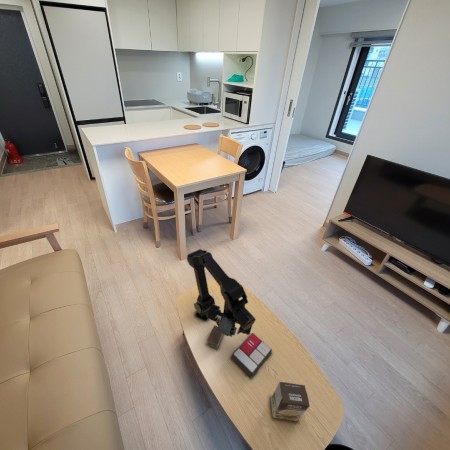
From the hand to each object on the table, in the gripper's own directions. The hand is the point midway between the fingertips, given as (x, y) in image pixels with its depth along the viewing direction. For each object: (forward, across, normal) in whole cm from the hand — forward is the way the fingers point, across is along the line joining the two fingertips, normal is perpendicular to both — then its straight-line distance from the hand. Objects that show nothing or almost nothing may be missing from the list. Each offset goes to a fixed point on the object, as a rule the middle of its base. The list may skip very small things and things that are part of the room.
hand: (228, 329), depth 101 cm
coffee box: (+13, +28, -14) cm, 34 cm away
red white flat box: (+13, +12, 0) cm, 17 cm away
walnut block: (+12, -5, 0) cm, 14 cm away
